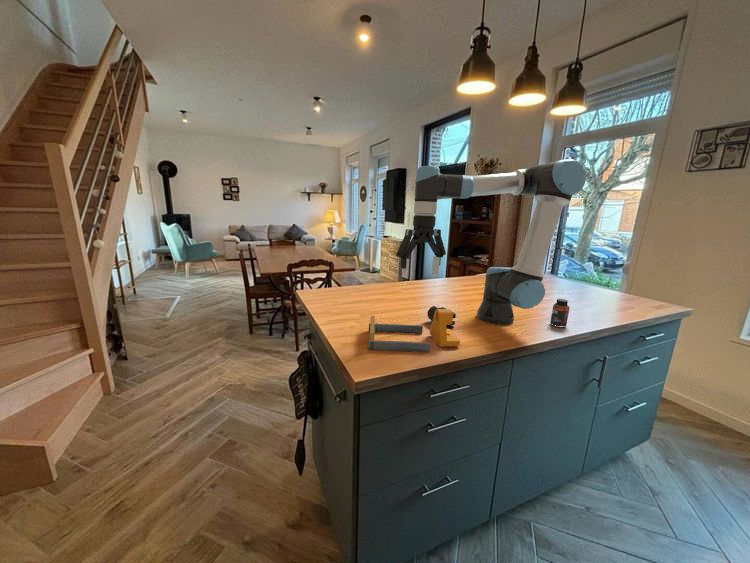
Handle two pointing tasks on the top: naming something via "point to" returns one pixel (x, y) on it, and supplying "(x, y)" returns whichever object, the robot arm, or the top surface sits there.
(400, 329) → the rail
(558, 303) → the supplement bottle
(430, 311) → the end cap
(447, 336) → the bracket
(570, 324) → the top surface
